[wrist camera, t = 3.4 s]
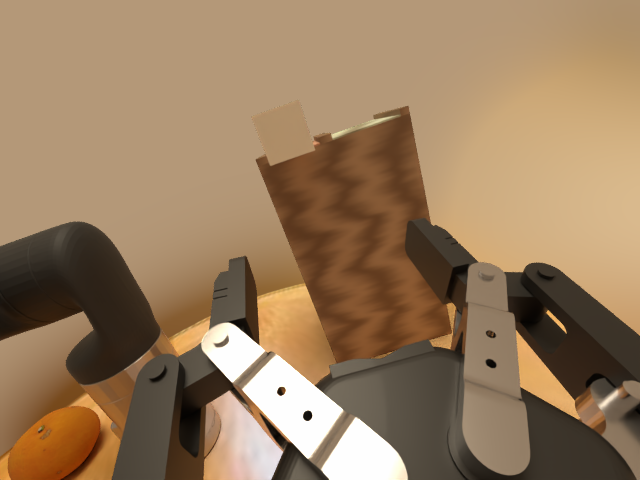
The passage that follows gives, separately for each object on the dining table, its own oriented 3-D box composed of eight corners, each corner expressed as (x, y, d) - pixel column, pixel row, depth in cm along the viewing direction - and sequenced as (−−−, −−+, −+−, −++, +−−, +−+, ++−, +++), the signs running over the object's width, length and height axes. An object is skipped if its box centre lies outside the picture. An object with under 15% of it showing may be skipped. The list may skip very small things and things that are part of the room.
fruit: (39, 517, 37) (-5, 482, 34) (26, 478, 44) (-12, 446, 41) (120, 439, 45) (89, 406, 42) (99, 417, 51) (71, 386, 48)
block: (270, 166, 24) (251, 116, 22) (284, 150, 46) (275, 125, 45) (315, 150, 23) (299, 99, 22) (308, 142, 46) (299, 116, 44)
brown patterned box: (338, 367, 44) (255, 159, 32) (331, 319, 55) (267, 152, 43) (451, 332, 43) (408, 105, 31) (420, 291, 54) (379, 113, 42)
